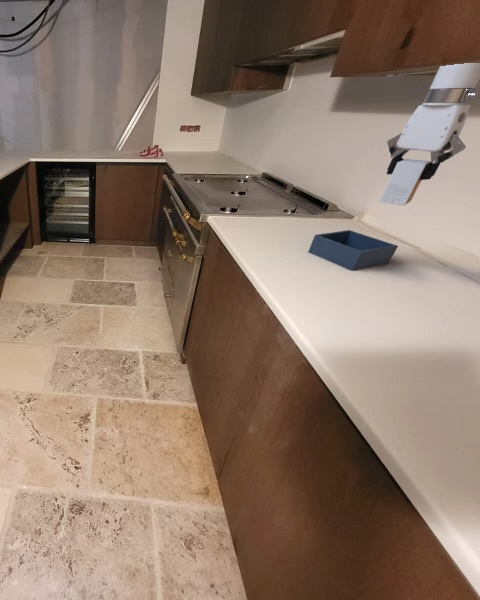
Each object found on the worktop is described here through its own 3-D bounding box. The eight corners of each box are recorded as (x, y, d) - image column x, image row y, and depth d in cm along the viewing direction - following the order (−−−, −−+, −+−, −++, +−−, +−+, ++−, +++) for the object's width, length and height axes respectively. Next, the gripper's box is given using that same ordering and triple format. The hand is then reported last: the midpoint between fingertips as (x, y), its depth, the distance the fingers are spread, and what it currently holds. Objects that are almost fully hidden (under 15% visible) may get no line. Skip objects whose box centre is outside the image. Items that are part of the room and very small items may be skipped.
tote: (341, 246, 108) (349, 229, 105) (388, 264, 96) (398, 245, 93) (308, 251, 104) (314, 234, 101) (352, 270, 93) (361, 252, 90)
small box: (404, 206, 85) (426, 164, 79) (378, 202, 89) (397, 161, 83) (411, 201, 89) (432, 160, 84) (386, 197, 93) (404, 158, 87)
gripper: (506, 97, 70) (457, 182, 79) (415, 98, 84) (382, 170, 94) (484, 97, 68) (436, 184, 77) (395, 99, 82) (363, 172, 92)
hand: (407, 176), depth 85 cm, fingers closed on small box, 7 cm apart
